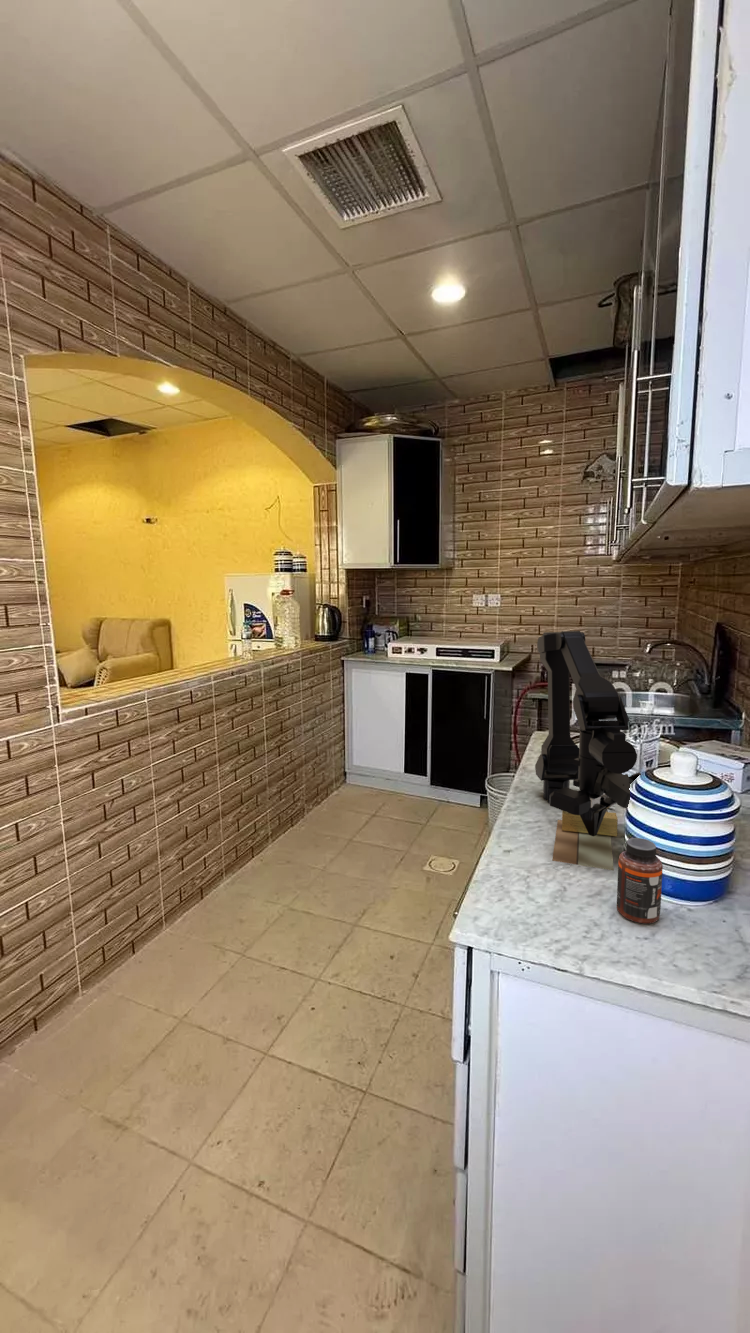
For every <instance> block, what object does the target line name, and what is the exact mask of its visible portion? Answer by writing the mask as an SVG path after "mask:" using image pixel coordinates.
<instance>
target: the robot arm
mask: <svg viewBox="0 0 750 1333" xmlns="http://www.w3.org/2000/svg"><path fill="white" fill-rule="evenodd" d="M536 647H537V652H538V653H539V659H540V663H542V665H543V666H544V668H545V669H546V671H547V709H548V710H547V713H548V714H547V718H548V722H547V723H548V734H547V737H546V738H545V740H544V741H543V743H542V744H541V749H540V750H541V752H540V755H539V757H538V758H537V761H536V762H535V764H534V767H535V768H534V769H535V775H536V776H537V777H538V779H539V780H540V781H541V782H542V781H543V787H542V788H543V790H542V793H543V794H542V798H543V800H545V801H546V802H547V803H548V804H549V805H550V807H552V808H556V809H558V810H561V811H562V810H563V811H566V812H568V813H571V814H573V815H580V817H581V819H582V821H583V823H584V825H585V827H586V829H587V831H588V834H589V835H591V836H596V835H597V833H598V830H599V828H600V825H601V823H602V820H603V817H604V815H605V813H606V811H607V810H608V809H610V808H611V807H612V806H614V805H616V804H617V805H618V806H619V807H621V808H622V809H628V808H627V807H628V804H629V800H630V790H629V788H630V784H631V783H632V782H633V781H634V780H635V779H636V778H637V777H638V776H639V775H641V774H642V773H641V772H636V773H632V774H631V775H629V774H628V773H627V772H629V771H630V770H633V767H634V766H635V765H636V763H637V759H638V753H637V751H636V748H635V747H634V745H633V744H632V743H631V742H629V741H627V740H626V738H627V734H626V733H625V732H624V731H629V729H630V726H629V721H630V718H629V715H628V712H627V710H626V708H625V705H624V702H623V699H622V696H621V695H620V694H619V693H618V691H617V689H616V688H615V686H614V685H613V683H612V682H611V681H609V680H608V679H606V678H604V677H603V676H601V674H600V672H599V671H598V668H597V665H596V663H595V661H594V659H593V657H592V655H591V652H590V650H589V648H588V645H587V644H586V634H585V632H583V631H581V630H567V631H566V630H562V631H549V632H548V631H547V632H546V631H545V632H543V634H542V636H538V638H537V643H536ZM570 677H571V679H572V682H573V684H574V688H575V691H574V695H573V699H572V706H573V711H574V714H575V716H576V718H577V722H578V723H577V724H578V726H579V737H578V738H579V739H578V740H579V743H578V745H577V744H576V742H575V741H574V739H573V738H572V737H571V703H570V701H571V700H570V699H571V698H570V695H571V691H570V686H571V684H570V681H571V680H570ZM615 719H616V720H615ZM570 781H572V785H573V787H577V788H578V789H579V790H575V789H573V788H570V784H571V782H570Z"/></svg>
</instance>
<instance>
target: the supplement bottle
mask: <svg viewBox="0 0 750 1333" xmlns="http://www.w3.org/2000/svg"><path fill="white" fill-rule="evenodd" d="M625 843H626V844H625V845H626V846H625V850H623V851H622V852H621V853H619V857H618V865H617V867H618V868H617V888H616V908H617V911H618V912H619V914H620V915H621V916H623V917H624V918H626V919H627V920H629V921H632V922H635V923H639V924H653V923H656V922H657V921H659V919H660V916H661V915H660V914H661V907H662V887H663V863H662V860H660V858H659V857H658V856H657V845H656V844H655V843H654V842H653V841H651V840H648V839H645V838H641V837H631V838H628V839H627V840H626V842H625Z"/></svg>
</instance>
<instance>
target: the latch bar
mask: <svg viewBox="0 0 750 1333" xmlns="http://www.w3.org/2000/svg"><path fill="white" fill-rule="evenodd" d="M618 819H619V818H618V815H617V812H610V811H608V812H606V813H605V815H604V817H603V820H602V823H601V825H600V828H599V830H598V833H597V834H600V835H609V836H611V837H618V821H619V820H618ZM561 820H562V830H564V831H573V832H582V833H588V831H587V829H586V827H585V825H584V823H583V821H582V819H581V817H580V815H573V814H571V813H568V812H566V811H563V810H561Z"/></svg>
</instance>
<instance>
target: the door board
mask: <svg viewBox="0 0 750 1333" xmlns="http://www.w3.org/2000/svg"><path fill="white" fill-rule="evenodd" d="M612 847H613V846H612V836H609V835H600V834H597V835H596V836H591V835H589V834H588V833H582V832H573V831H564V830H562V819H557V823H556V830H555V836H554V845H553V852H552V862H558V863H564V864H569V865H570V864H571V865H577V866H582V867H583V866H584V867H589V868H595V869H600V870H609V871H614V860H613V859H614V858H613V857H614V856H613V848H612Z"/></svg>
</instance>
